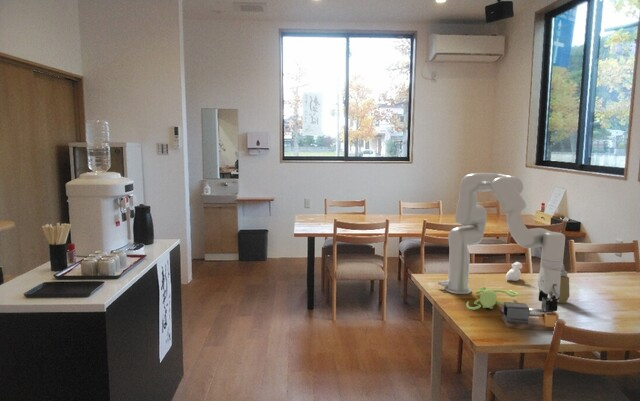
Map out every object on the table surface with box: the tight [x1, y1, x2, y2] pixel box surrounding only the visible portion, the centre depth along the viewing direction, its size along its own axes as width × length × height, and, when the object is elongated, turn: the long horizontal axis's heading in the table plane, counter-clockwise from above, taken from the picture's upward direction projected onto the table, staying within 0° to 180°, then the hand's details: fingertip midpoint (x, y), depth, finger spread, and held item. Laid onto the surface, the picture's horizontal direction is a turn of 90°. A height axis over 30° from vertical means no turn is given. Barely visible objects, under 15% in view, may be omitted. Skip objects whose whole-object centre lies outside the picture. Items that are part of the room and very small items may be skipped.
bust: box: [505, 261, 523, 282], centre depth 224 cm, size 12×8×11 cm
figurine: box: [465, 286, 520, 313], centre depth 190 cm, size 18×27×6 cm
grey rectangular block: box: [529, 297, 554, 318], centre depth 167 cm, size 12×4×7 cm, turn 82°
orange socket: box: [538, 311, 560, 327], centre depth 167 cm, size 4×7×5 cm, turn 172°
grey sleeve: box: [502, 301, 530, 324], centre depth 168 cm, size 8×5×7 cm, turn 82°
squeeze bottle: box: [551, 263, 570, 304], centre depth 193 cm, size 8×8×18 cm
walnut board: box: [501, 315, 555, 332], centre depth 168 cm, size 19×9×1 cm, turn 82°
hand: (547, 305), depth 166 cm, fingers open, 9 cm apart
